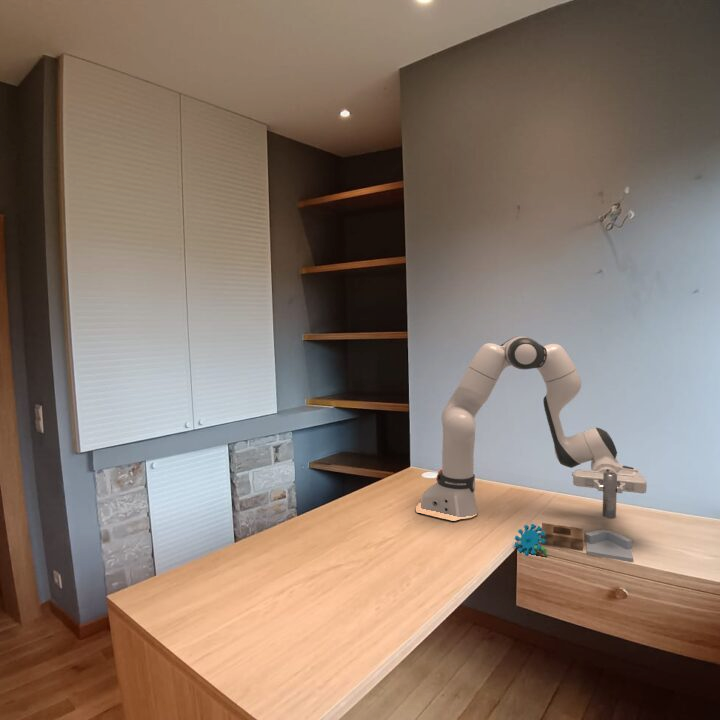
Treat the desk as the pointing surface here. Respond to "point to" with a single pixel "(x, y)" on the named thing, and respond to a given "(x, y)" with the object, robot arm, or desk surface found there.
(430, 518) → the desk surface
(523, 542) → the blue spiky virus model
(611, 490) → the axle
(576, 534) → the brown slotted block
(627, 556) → the v block
